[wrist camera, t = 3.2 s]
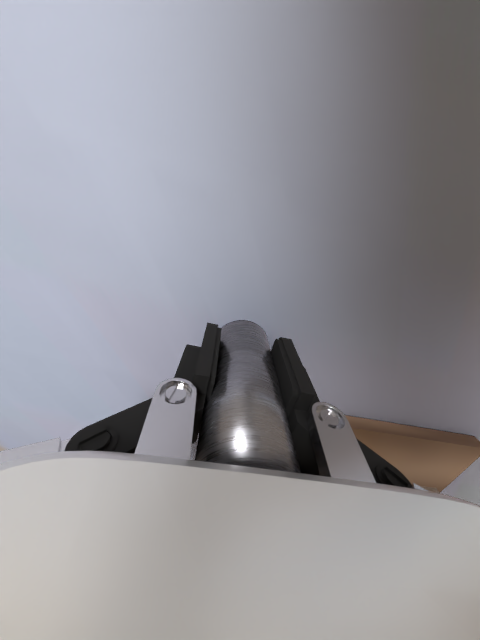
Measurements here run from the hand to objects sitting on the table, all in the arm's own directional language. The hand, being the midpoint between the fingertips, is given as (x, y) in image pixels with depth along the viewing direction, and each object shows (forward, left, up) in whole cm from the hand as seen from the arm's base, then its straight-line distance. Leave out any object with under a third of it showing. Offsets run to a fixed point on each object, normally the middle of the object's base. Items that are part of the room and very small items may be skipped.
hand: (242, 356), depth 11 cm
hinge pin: (0, 0, -1) cm, 1 cm away
